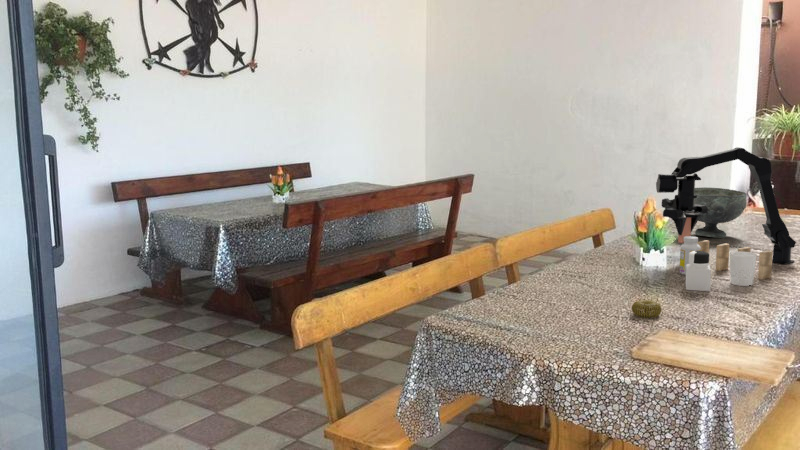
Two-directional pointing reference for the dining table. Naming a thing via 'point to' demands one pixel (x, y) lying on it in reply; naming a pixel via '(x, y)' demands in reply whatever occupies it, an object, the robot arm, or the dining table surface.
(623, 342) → the dining table surface
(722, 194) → the decorative bowl
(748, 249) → the domino
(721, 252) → the domino
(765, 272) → the domino
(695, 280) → the medicine bottle
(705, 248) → the domino
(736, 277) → the white cup
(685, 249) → the supplement bottle
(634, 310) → the olive green ribbed ring
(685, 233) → the domino
